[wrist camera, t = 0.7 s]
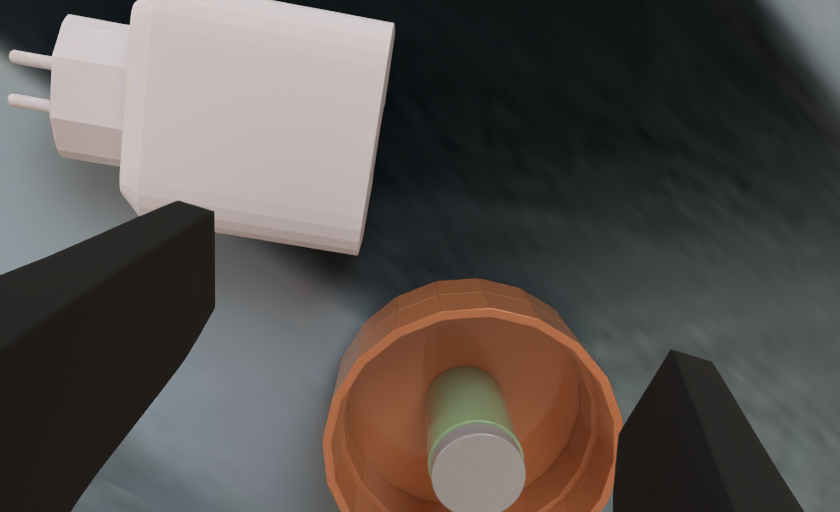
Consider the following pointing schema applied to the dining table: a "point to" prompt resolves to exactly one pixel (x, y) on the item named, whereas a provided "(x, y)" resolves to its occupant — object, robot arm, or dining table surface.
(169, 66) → the charger
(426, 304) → the basin
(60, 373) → the robot arm
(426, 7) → the dining table surface
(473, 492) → the cylinder
